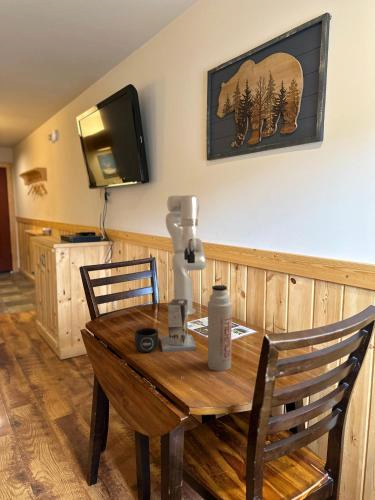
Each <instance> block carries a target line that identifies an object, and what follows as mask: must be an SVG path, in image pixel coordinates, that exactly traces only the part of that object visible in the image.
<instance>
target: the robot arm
mask: <svg viewBox="0 0 375 500" xmlns="http://www.w3.org/2000/svg"><path fill="white" fill-rule="evenodd" d="M166 200H167V201H166V206H167V211H168V212H169V213H167V214H166V216H165V225H166V230H167V232H168V234H169V235H170V237H171V245H172V251H173V253H174V254H173V255H172V257H171V263H172V270H173V293H174V294H173V295H174V297H173V298H174V299H186V300H187V316H191V315H194V314H195V313H196V309H195V308H194V307H193V277H192V276H191V274H190V273H189V272H190V271H202V270H204V269H206V266H207V258H206V253H205V248H204V246H203V242H202V240H201V239H200V238H197V236H196V232H197V231H196V228H197V227H198V228H199V226H198V220H199V219H198V217H199V212H200V202H199V201H200V200H199V199H198V196H196V195H194V194H192V195H190V194H189V195H188V194H187V195H170V196H168V198H167V199H166Z"/></svg>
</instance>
